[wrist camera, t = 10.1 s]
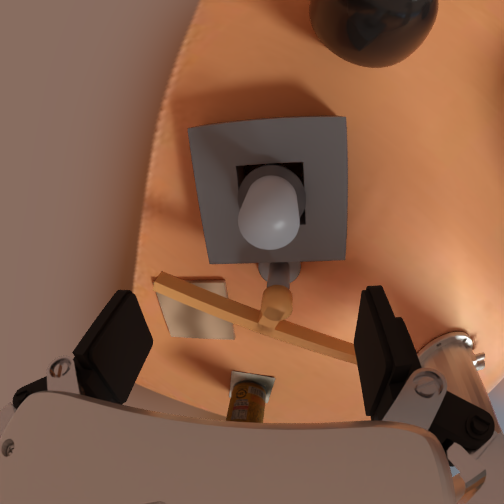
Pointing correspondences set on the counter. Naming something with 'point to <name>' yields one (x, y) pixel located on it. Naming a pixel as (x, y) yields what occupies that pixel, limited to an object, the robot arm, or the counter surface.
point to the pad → (196, 315)
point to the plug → (270, 206)
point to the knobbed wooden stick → (257, 315)
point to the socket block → (264, 152)
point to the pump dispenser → (373, 28)
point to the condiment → (248, 397)
